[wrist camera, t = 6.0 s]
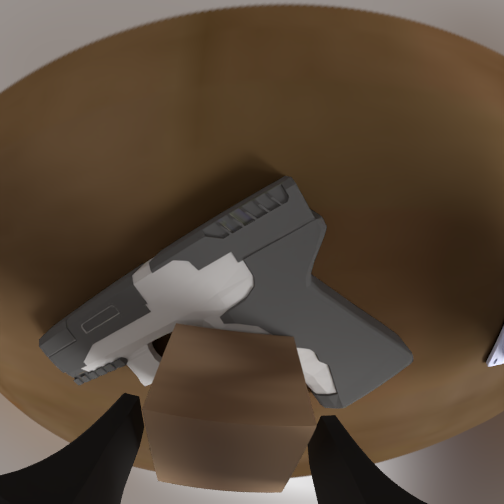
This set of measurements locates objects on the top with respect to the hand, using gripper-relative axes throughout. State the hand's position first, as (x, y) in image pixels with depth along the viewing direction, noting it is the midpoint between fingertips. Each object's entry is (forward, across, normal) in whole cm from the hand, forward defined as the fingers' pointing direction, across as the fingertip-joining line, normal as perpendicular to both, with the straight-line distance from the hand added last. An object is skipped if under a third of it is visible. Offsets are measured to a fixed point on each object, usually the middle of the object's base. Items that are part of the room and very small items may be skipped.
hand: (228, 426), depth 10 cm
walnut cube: (+3, 0, 0) cm, 3 cm away
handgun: (+6, +1, 0) cm, 6 cm away
